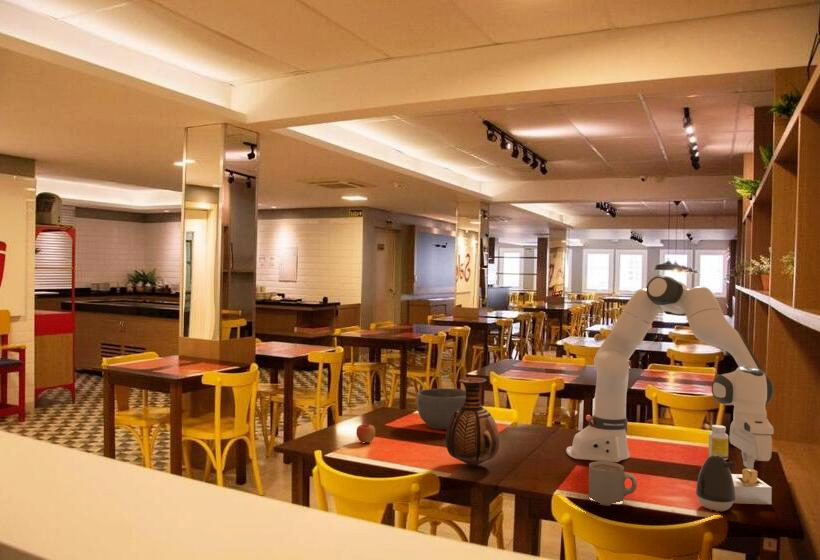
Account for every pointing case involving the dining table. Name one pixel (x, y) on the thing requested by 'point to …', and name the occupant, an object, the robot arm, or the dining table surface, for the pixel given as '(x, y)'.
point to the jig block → (751, 491)
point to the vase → (472, 428)
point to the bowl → (439, 405)
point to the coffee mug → (609, 482)
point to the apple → (365, 433)
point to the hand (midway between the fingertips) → (748, 467)
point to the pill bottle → (718, 442)
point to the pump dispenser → (716, 484)
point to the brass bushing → (749, 476)
